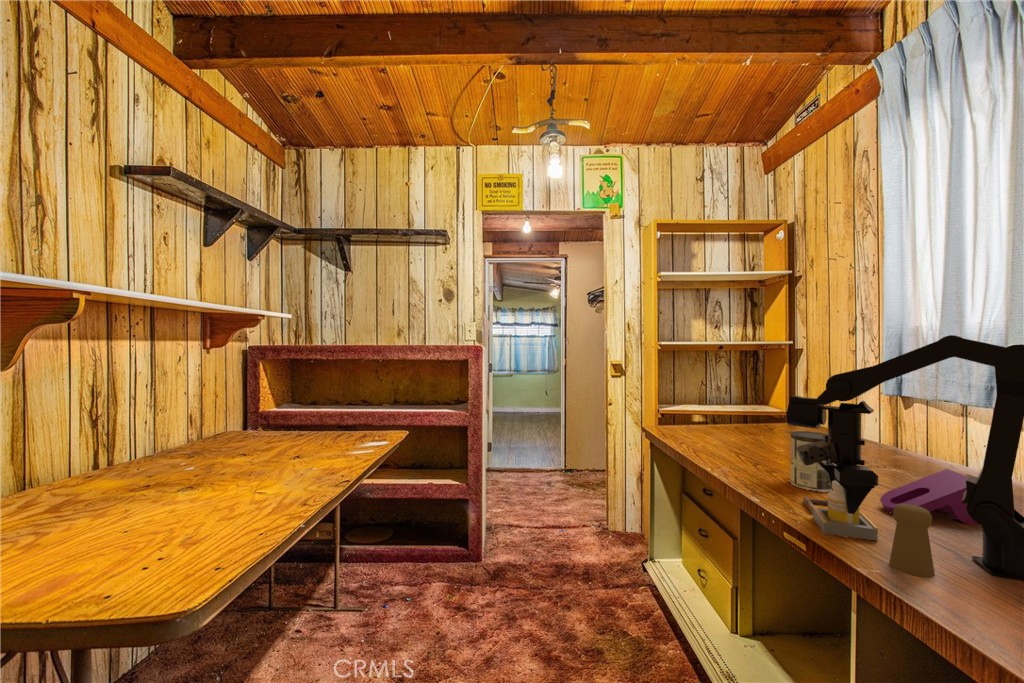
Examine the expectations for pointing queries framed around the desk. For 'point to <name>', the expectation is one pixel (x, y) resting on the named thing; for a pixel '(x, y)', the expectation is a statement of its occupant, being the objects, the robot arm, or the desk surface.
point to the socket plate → (845, 526)
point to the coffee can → (807, 474)
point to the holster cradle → (810, 502)
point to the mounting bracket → (933, 495)
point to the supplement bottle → (840, 506)
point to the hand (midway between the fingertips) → (843, 505)
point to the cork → (912, 541)
